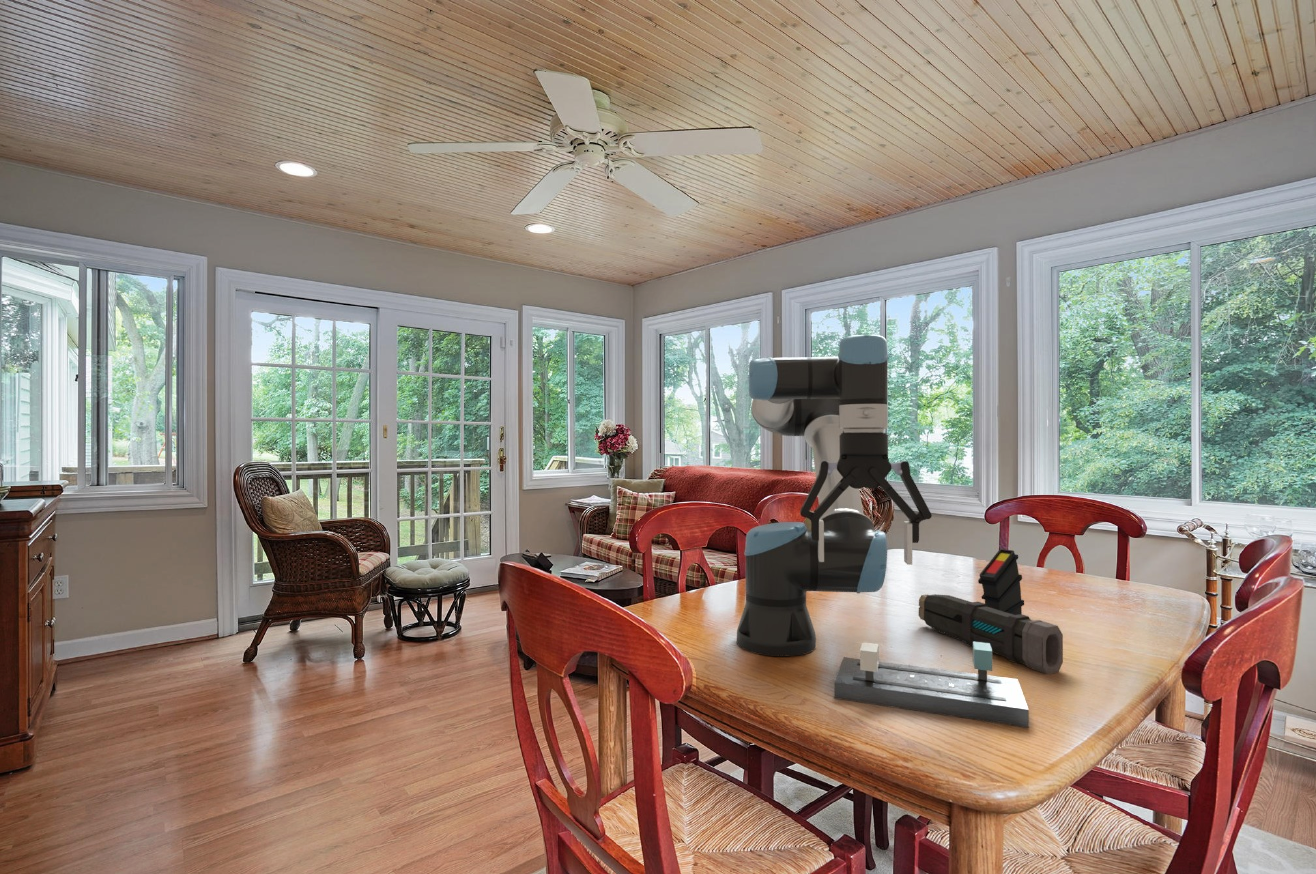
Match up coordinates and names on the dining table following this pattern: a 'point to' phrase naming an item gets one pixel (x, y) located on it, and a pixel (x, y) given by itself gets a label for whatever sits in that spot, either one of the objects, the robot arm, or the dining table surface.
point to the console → (934, 692)
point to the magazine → (1002, 583)
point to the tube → (996, 631)
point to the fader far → (982, 659)
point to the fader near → (869, 659)
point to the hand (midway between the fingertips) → (864, 561)
